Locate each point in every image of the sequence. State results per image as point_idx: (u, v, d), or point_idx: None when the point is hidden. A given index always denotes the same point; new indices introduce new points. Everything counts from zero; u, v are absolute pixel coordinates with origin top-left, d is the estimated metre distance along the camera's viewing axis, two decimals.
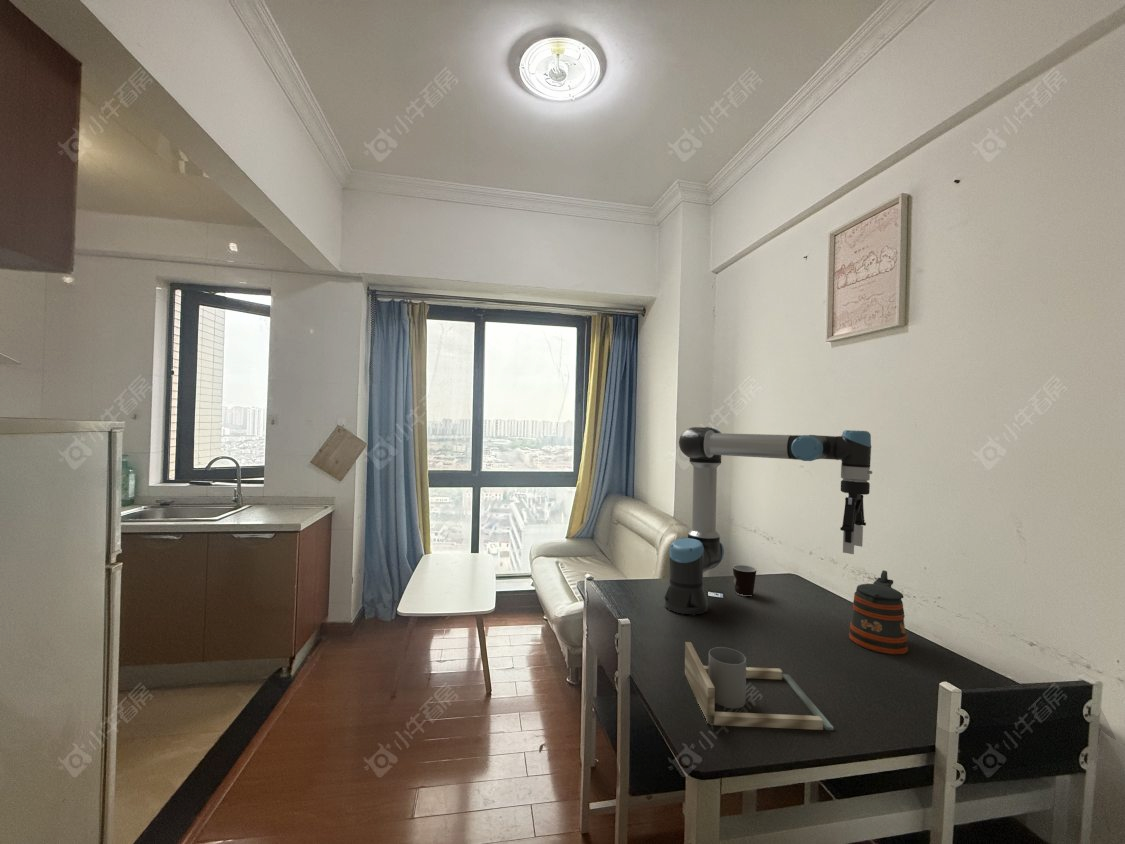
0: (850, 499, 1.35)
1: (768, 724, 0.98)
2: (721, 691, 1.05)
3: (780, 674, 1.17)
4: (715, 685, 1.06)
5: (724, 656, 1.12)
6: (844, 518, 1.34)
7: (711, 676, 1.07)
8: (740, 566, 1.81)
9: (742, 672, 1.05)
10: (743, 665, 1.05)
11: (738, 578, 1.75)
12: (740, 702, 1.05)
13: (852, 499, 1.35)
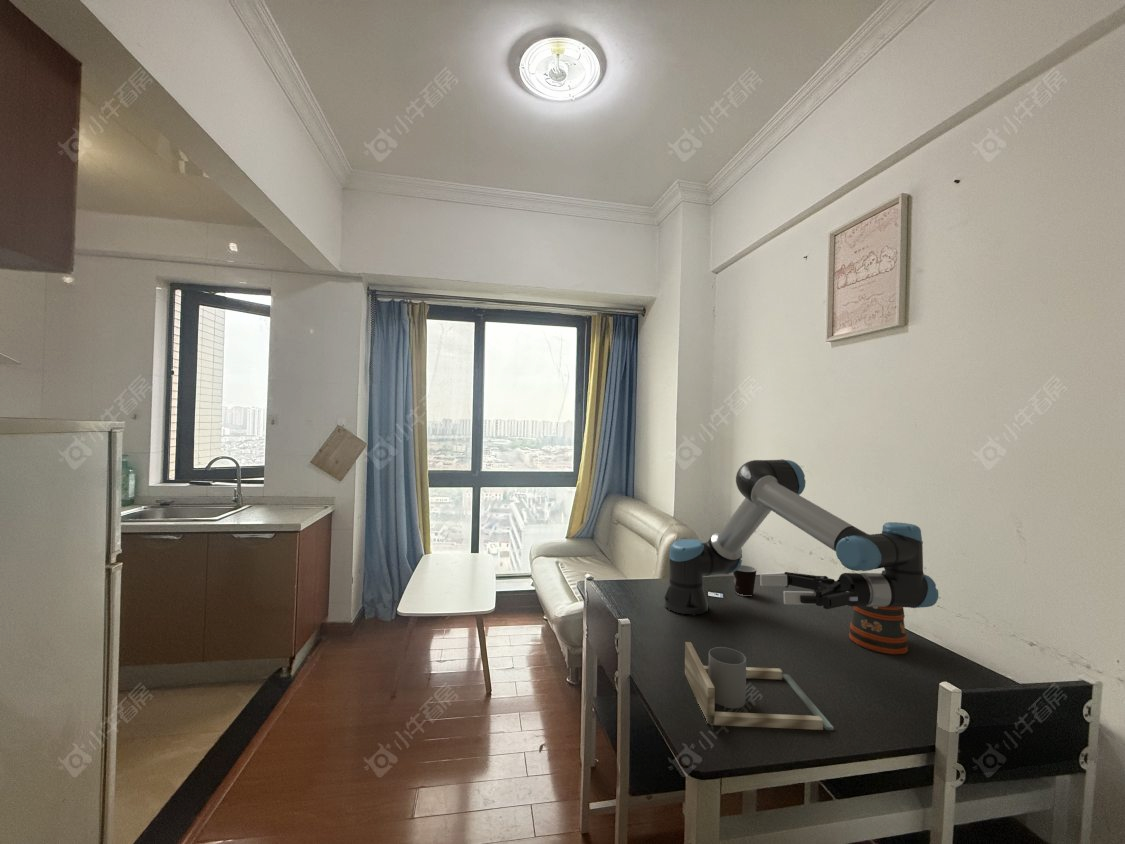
0: (856, 599, 1.02)
1: (768, 724, 0.98)
2: (721, 691, 1.05)
3: (780, 674, 1.17)
4: (715, 685, 1.06)
5: (724, 656, 1.12)
6: (836, 597, 1.00)
7: (711, 676, 1.07)
8: (740, 566, 1.81)
9: (742, 672, 1.05)
10: (743, 665, 1.05)
11: (738, 578, 1.75)
12: (740, 702, 1.05)
13: (856, 601, 1.02)
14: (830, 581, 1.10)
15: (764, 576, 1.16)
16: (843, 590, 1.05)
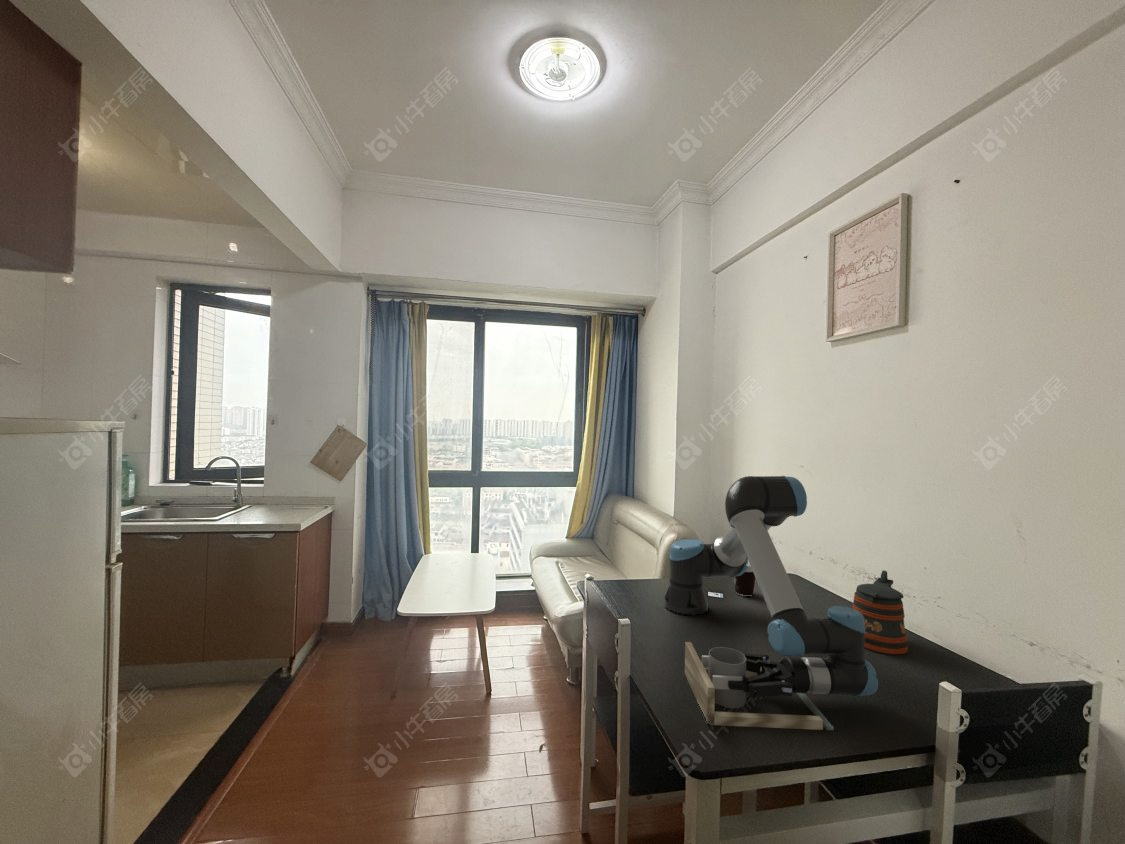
0: (789, 690, 1.01)
1: (768, 724, 0.98)
2: (721, 691, 1.05)
3: None
4: None
5: (724, 656, 1.12)
6: (764, 686, 1.01)
7: (711, 676, 1.07)
8: None
9: (742, 672, 1.05)
10: (743, 665, 1.05)
11: (738, 578, 1.75)
12: (740, 702, 1.05)
13: (790, 693, 1.01)
14: (773, 665, 1.09)
15: (705, 658, 1.13)
16: (782, 678, 1.04)
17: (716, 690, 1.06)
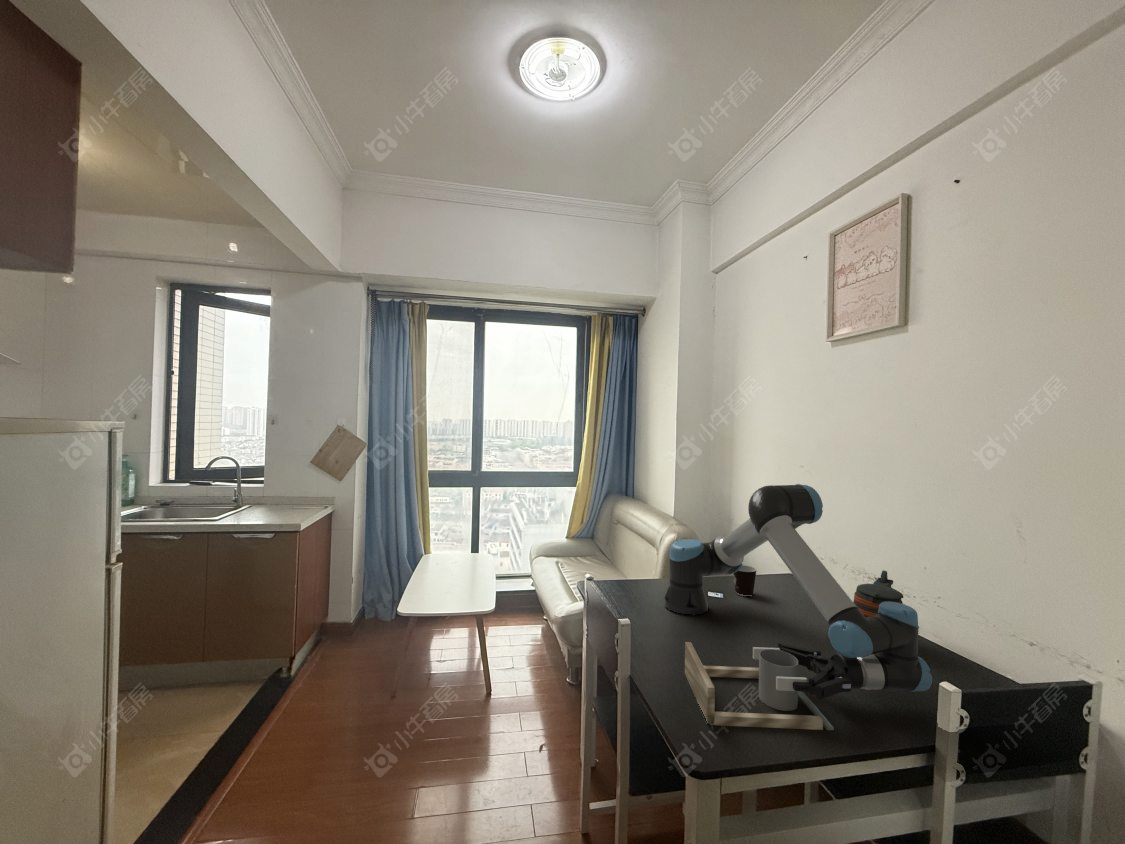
0: (849, 686, 1.01)
1: (768, 724, 0.98)
2: (774, 694, 1.05)
3: None
4: (767, 687, 1.06)
5: (774, 658, 1.12)
6: (829, 686, 0.99)
7: (763, 678, 1.07)
8: None
9: (795, 675, 1.05)
10: (796, 667, 1.05)
11: (738, 578, 1.75)
12: (793, 704, 1.04)
13: (849, 688, 1.01)
14: (823, 661, 1.08)
15: (757, 649, 1.15)
16: (836, 674, 1.04)
17: (768, 692, 1.05)
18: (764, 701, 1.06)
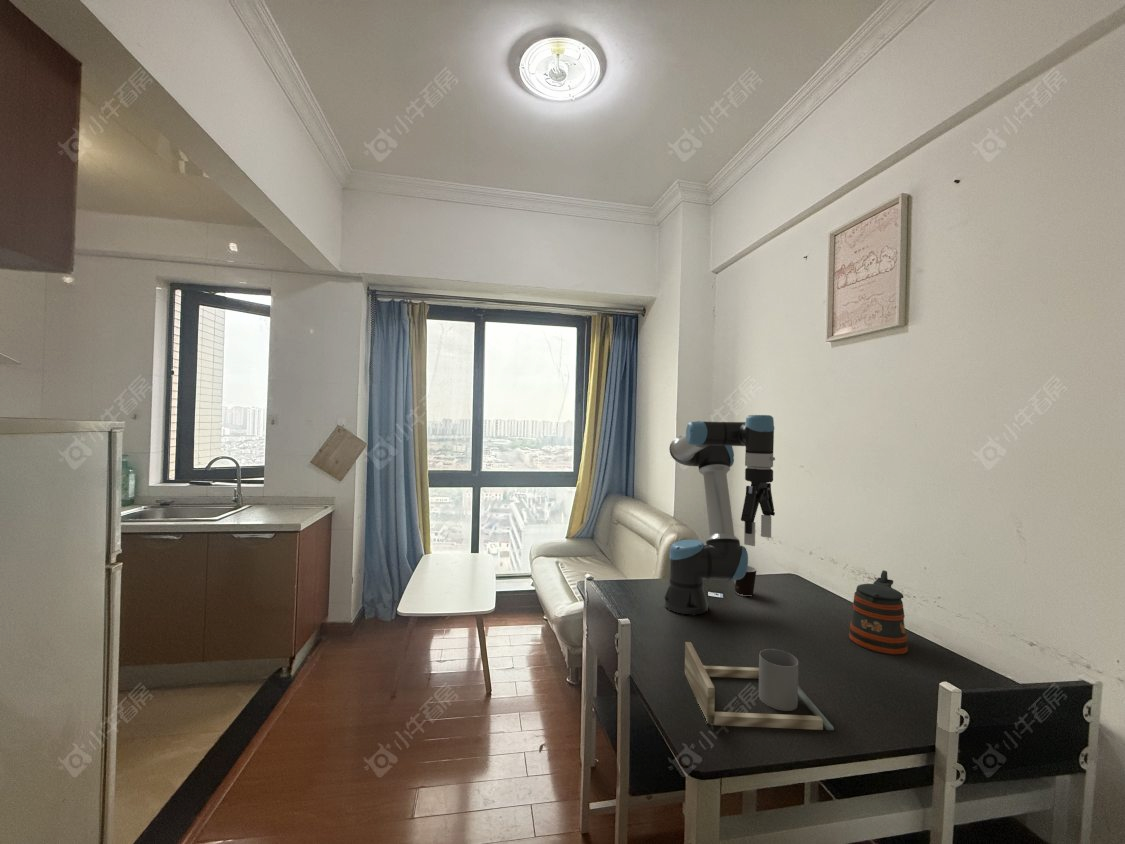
0: (750, 488, 1.27)
1: (768, 724, 0.98)
2: (774, 694, 1.05)
3: None
4: (767, 687, 1.06)
5: (774, 658, 1.12)
6: (744, 508, 1.26)
7: (763, 678, 1.07)
8: None
9: (795, 675, 1.05)
10: (796, 667, 1.05)
11: None
12: (793, 704, 1.04)
13: (752, 487, 1.27)
14: None
15: (762, 533, 1.38)
16: None
17: (768, 692, 1.05)
18: (764, 701, 1.06)
